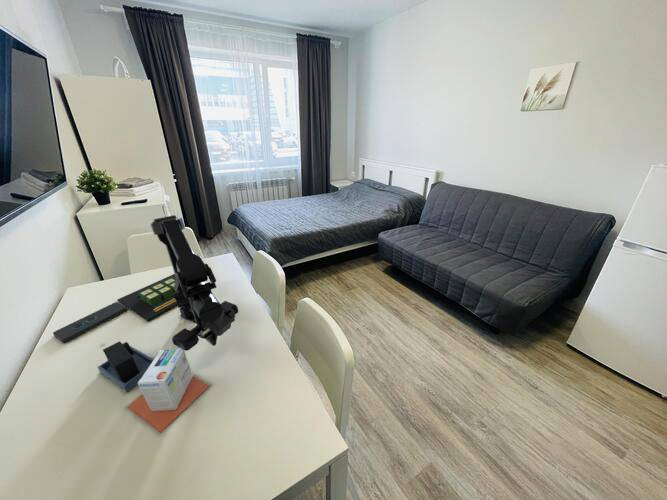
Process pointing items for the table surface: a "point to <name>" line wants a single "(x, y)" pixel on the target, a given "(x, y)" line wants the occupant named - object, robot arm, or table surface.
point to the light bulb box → (166, 380)
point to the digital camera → (122, 361)
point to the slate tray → (142, 365)
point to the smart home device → (89, 322)
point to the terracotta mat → (166, 417)
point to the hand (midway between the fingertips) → (213, 344)
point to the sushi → (152, 299)
